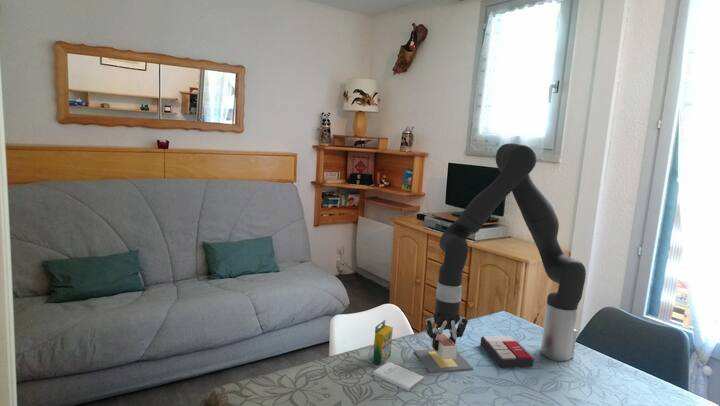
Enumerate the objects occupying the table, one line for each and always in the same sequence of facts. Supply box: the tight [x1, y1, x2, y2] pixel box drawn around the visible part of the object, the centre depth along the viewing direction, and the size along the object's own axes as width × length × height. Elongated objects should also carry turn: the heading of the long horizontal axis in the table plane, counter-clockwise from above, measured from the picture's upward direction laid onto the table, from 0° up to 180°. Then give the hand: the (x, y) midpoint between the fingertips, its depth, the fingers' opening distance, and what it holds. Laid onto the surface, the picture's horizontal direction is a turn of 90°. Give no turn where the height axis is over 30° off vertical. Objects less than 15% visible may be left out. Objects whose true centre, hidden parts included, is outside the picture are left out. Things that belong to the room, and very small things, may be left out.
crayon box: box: [372, 319, 394, 366], centre depth 137 cm, size 7×3×12 cm, turn 152°
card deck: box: [430, 333, 458, 359], centre depth 139 cm, size 9×4×4 cm, turn 14°
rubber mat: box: [414, 348, 474, 374], centre depth 140 cm, size 14×13×1 cm
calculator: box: [479, 335, 534, 369], centre depth 145 cm, size 11×4×15 cm
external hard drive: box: [372, 361, 425, 392], centre depth 129 cm, size 2×8×12 cm
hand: (443, 349), depth 139 cm, fingers closed on card deck, 4 cm apart
